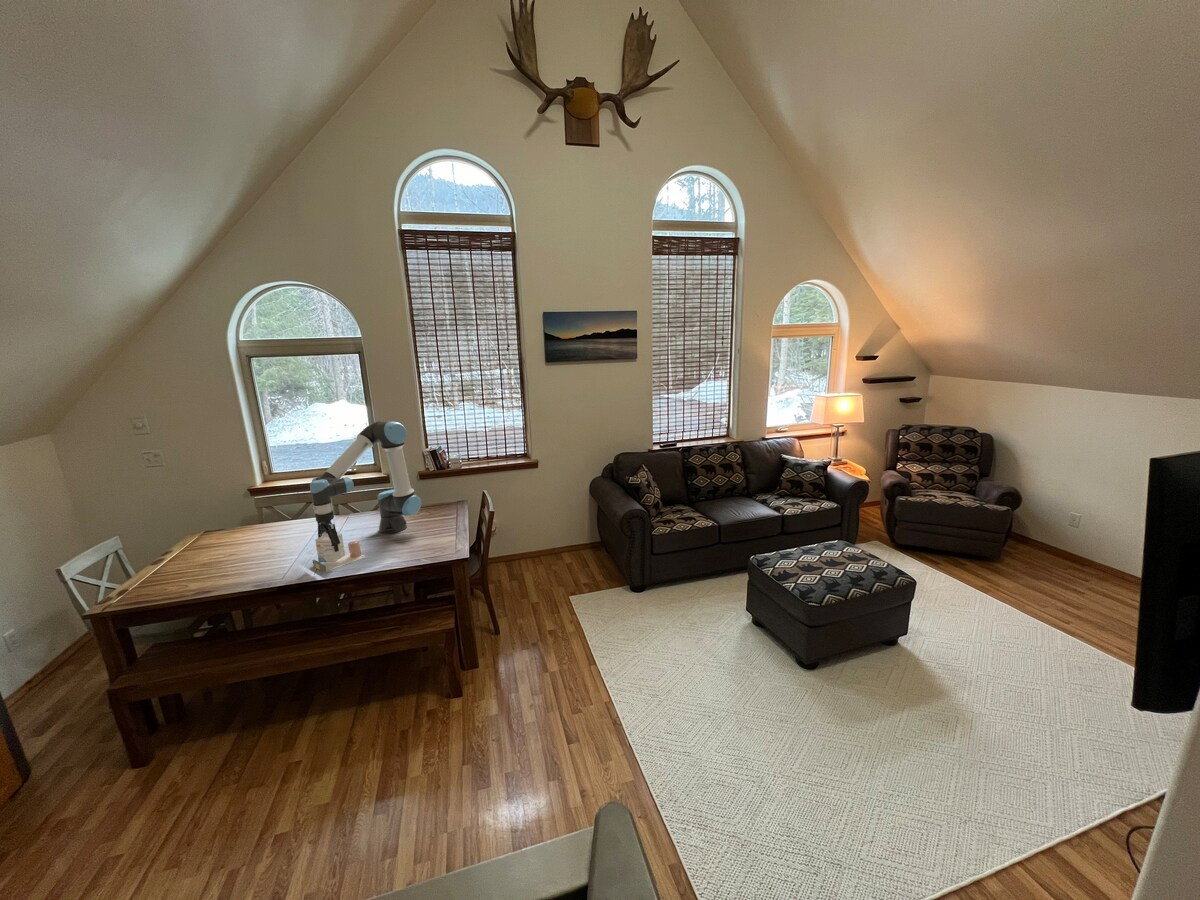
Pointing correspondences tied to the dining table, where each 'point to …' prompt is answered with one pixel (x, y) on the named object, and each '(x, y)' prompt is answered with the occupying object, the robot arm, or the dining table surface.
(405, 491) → the robot arm
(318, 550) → the ink box
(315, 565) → the shelf board
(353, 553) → the tan glossy oval piece
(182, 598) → the dining table surface
